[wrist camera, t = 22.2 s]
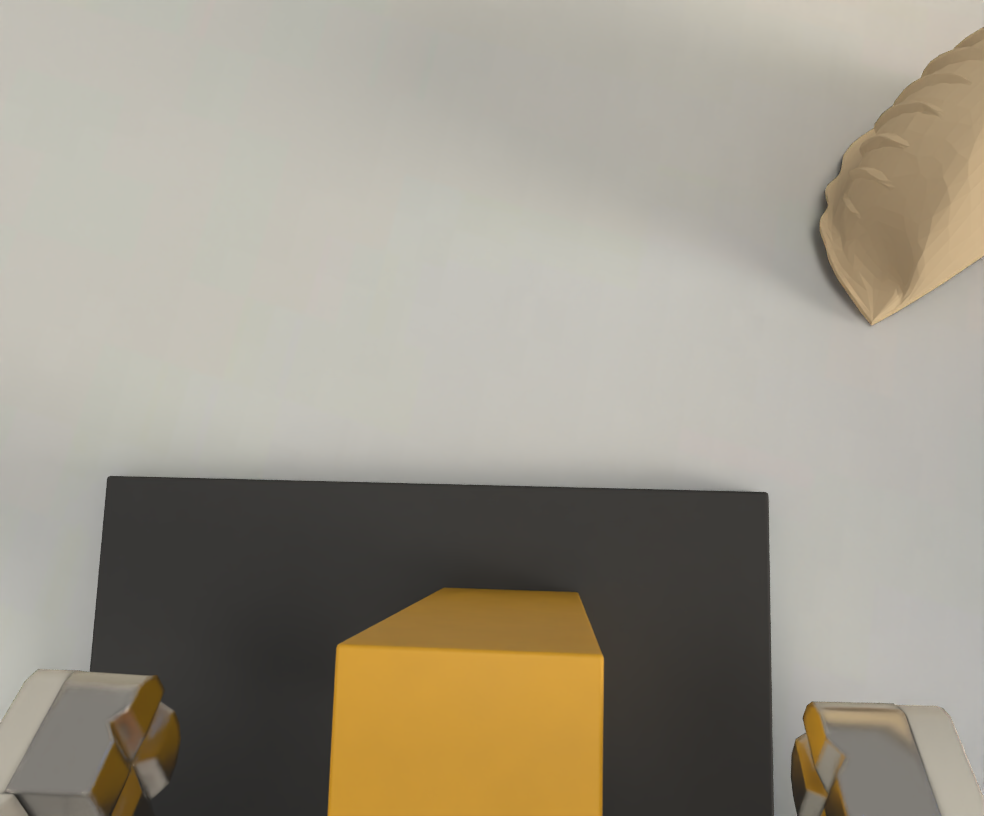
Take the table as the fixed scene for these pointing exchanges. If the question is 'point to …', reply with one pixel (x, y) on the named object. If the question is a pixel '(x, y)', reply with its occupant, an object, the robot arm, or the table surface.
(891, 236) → the decorative ornament
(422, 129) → the table surface
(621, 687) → the mat
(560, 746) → the peg
